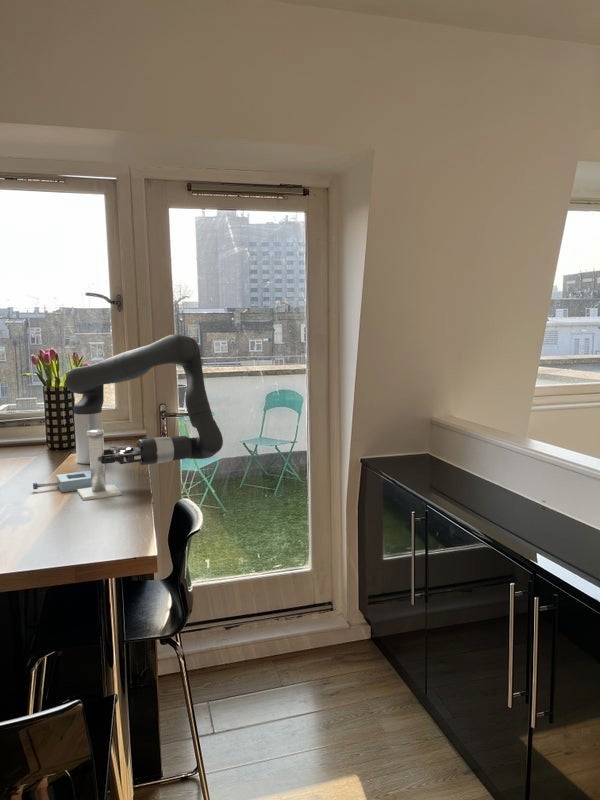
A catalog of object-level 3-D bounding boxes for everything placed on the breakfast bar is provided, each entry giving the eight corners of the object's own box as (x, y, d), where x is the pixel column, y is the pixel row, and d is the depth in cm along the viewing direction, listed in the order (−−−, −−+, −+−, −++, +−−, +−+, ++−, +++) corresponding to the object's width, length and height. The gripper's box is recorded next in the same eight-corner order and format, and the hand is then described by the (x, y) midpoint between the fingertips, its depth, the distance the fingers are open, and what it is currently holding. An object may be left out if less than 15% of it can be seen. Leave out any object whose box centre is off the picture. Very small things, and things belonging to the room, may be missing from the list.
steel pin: (88, 489, 176) (85, 430, 174) (105, 487, 178) (102, 429, 176) (91, 493, 172) (88, 433, 170) (108, 491, 174) (105, 431, 172)
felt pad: (77, 491, 177) (77, 489, 177) (113, 487, 182) (112, 484, 182) (83, 500, 168) (83, 497, 168) (120, 494, 173) (120, 492, 173)
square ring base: (32, 487, 182) (31, 478, 182) (91, 480, 190) (90, 470, 190) (35, 495, 174) (34, 485, 173) (97, 487, 182) (96, 477, 181)
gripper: (148, 434, 187) (92, 440, 180) (161, 441, 175) (102, 448, 167) (149, 458, 188) (94, 465, 181) (162, 467, 176) (103, 475, 168)
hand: (98, 457), depth 174 cm, fingers open, 8 cm apart
